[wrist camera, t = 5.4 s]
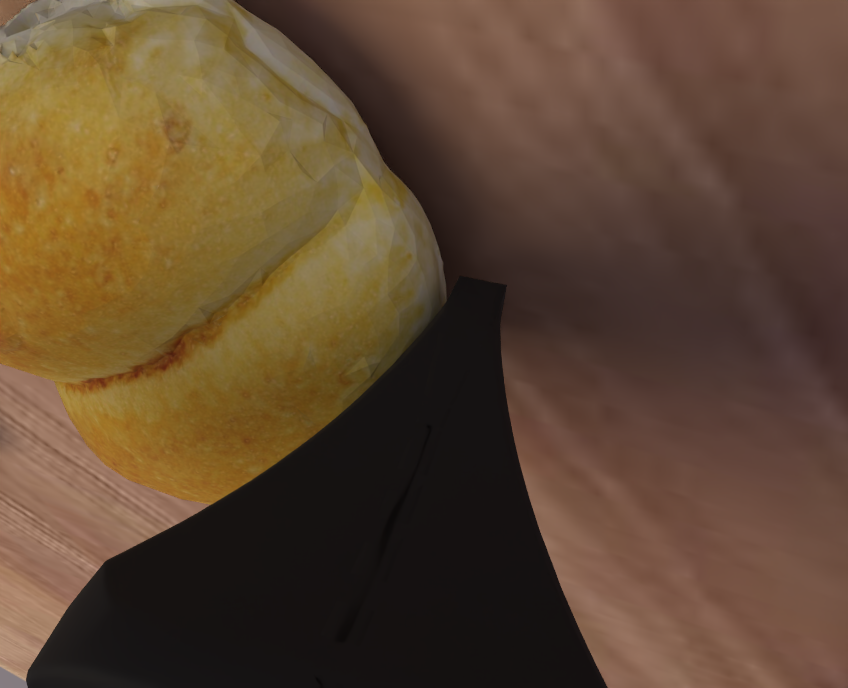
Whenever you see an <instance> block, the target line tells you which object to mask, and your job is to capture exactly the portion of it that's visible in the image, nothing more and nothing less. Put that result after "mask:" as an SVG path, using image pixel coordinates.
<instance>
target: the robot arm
mask: <svg viewBox="0 0 848 688" xmlns="http://www.w3.org/2000/svg"><path fill="white" fill-rule="evenodd" d="M506 287H507V285H503V284H498V283H493V282H488V281H483V280H478V279H474V278H469V277H464V276H459V278H458V280H457V282H456V284H455V286H454V288H453V290H452V292H451V294H450V296H449V299H448V300H447V302H446V303H445V304H444V306H443V307H442V308H441V310H440V311H439V312H438V313H437V315H436V316H435V317H434V318H433V320H432V321H431V322H430V323H429V324H428V326H427V327H426V328H425V329H424V331H423V332H422V333H421V334H420V335H419V336H418V337H417V338H416V340H415V341H414V342H413V343H412V344H411V345H410V346H409V347H408V348H407V349H406V351H405V352H404V353H403V354H402V355H401V356H400V357H399V358H398V359H397V360H396V362H395V363H394V364H393V365H392V366H391V367H390V368H389V369H388V370H387V371H386V372H385V373H384V374H383V375H381V376H380V377H379V378H378V379H377V380H376V381H375V382H374V383H373V384H372V385H371V386H370V387H369V388H368V389H367V390H366V391H365V392H364V393H363V394H362V395H361V396H360V397H359V398H358V399H356V400H355V401H354V402H353V403H352V404H351V405H350V406H349V407H347V408H346V409H345V410H344V411H343V412H342V413H341V414H339V415H338V416H337V417H336V418H335V419H334V420H332V421H331V422H330V423H329V424H327V425H326V426H325V427H324V428H322V429H321V430H320V431H319V432H318V433H316V434H315V435H314V436H313V437H311V438H310V439H309V440H307V441H306V442H305V443H303V444H302V445H300V446H299V447H298V448H296V449H295V450H294V451H292V452H291V453H290V454H288V455H287V456H285V457H284V458H283V459H281V460H280V461H279V462H277V463H276V464H274V465H273V466H272V467H270V468H269V469H267V470H266V471H264V472H263V473H261V474H260V475H258V476H257V477H255V478H254V479H252V480H251V481H249V482H248V483H246V484H244V485H243V486H241V487H239V488H238V489H236V490H234V491H233V492H231V493H230V494H228V495H226V496H225V497H223V498H221V499H220V500H218V501H216V502H215V503H213V504H212V505H210V506H208V507H207V508H205V509H203V510H202V511H200V512H198V513H197V514H195V515H193V516H191V517H190V518H188V519H186V520H184V521H182V522H181V523H179V524H177V525H175V526H173V527H171V528H169V529H167V530H165V531H163V532H161V533H159V534H157V535H156V536H154V537H152V538H150V539H148V540H146V541H144V542H142V543H140V544H138V545H136V546H134V547H132V548H130V549H128V550H126V551H124V552H123V553H121V554H119V555H116V556H114V557H112V558H110V559H109V560H107V561H105V562H104V564H103V565H102V566H101V567H100V569H99V570H98V571H97V572H96V573H95V575H94V576H93V577H92V578H91V580H90V581H89V582H88V583H87V585H86V586H85V587H84V588H83V589H82V591H81V592H80V593H79V594H78V596H77V597H76V598H75V600H74V601H73V602H72V603H71V605H70V606H69V607H68V609H67V610H66V612H65V613H64V615H63V616H62V618H61V620H60V621H59V623H58V624H57V626H56V627H55V629H54V631H53V632H52V634H51V635H50V637H49V638H48V640H47V642H46V643H45V645H44V646H43V648H42V649H41V651H40V653H39V654H38V656H37V657H36V659H35V660H34V662H33V664H32V665H31V667H30V668H29V670H28V673H27V678H26V682H27V686H28V688H607V686H606V684H605V682H604V680H603V678H602V676H601V674H600V672H599V670H598V668H597V666H596V664H595V662H594V659H593V657H592V655H591V653H590V651H589V649H588V647H587V645H586V643H585V640H584V638H583V636H582V634H581V632H580V630H579V628H578V625H577V623H576V621H575V618H574V616H573V614H572V611H571V609H570V607H569V605H568V602H567V600H566V598H565V595H564V593H563V591H562V588H561V586H560V583H559V580H558V578H557V575H556V572H555V570H554V567H553V564H552V562H551V559H550V557H549V554H548V551H547V549H546V546H545V543H544V541H543V538H542V535H541V533H540V530H539V527H538V524H537V521H536V518H535V515H534V511H533V508H532V505H531V502H530V499H529V496H528V492H527V489H526V485H525V481H524V478H523V474H522V471H521V467H520V463H519V459H518V455H517V451H516V446H515V442H514V437H513V432H512V427H511V422H510V417H509V412H508V406H507V400H506V393H505V385H504V376H503V368H502V358H501V337H500V322H501V316H502V310H503V304H504V299H505V293H506Z"/></svg>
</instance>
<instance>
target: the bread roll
mask: <svg viewBox="0 0 848 688" xmlns="http://www.w3.org/2000/svg"><path fill="white" fill-rule="evenodd" d="M446 302H447V298H446V282H445V276H444V271H443V261H442V259H441V255H440V251H439V247H438V244H437V241H436V238H435V236H434V233H433V230H432V227H431V224H430V222H429V220H428V218H427V216H426V214H425V212H424V210H423V208H422V206H421V204H420V203H419V202H418V200H417V199H416V197H415V196H414V194H413V193H412V191H411V190H410V189H409V188H408V187H407V186H406V185H405V184H404V183H403V182H402V181H401V180H400V179H399V178H398V177H397V176H396V175H395V174H394V173H393V172H392V171H391V170H390V169H389V168H388V167H387V165H386V164H385V163H384V161H383V159H382V157H381V155H380V153H379V151H378V149H377V147H376V145H375V143H374V141H373V139H372V137H371V135H370V133H369V130H368V128H367V125H366V124H365V123H364V122H363V120H362V118H361V117H360V115H359V113H358V111H357V110H356V108H355V106H354V104H353V103H352V101H351V100H350V99H349V98H348V97H347V96H346V95H345V94H344V93H343V92H342V91H341V89H340V88H339V87H338V86H337V85H336V84H335V83H334V82H333V81H332V80H331V78H330V77H329V76H328V75H326V73H325V72H324V71H323V70H322V69H321V68H320V67H319V66H318V65H317V64H316V63H315V62H314V61H313V60H312V59H311V58H310V57H308V56H307V55H306V54H305V53H304V52H303V51H301V50H300V49H299V48H298V47H297V46H296V45H295V44H294V43H293V42H292V41H291V40H289V39H288V38H287V37H286V36H285V35H284V34H282V33H281V32H280V31H279V30H277V29H276V28H274V27H273V26H271V25H269V24H268V23H266V22H264V21H263V20H261V19H259V18H258V17H256V16H255V15H253V14H252V13H250V12H248V11H247V10H246V9H244V8H243V7H242V6H240V5H239V4H238V3H236V2H235V1H234V0H37V1H35V2H32V3H30V4H29V5H28V6H27V7H26V8H24V9H21V11H20V13H19V14H17V15H15V16H14V18H13V19H12V20H9V21H7V23H6V24H5V25H4V26H0V364H3V365H7V366H10V367H13V368H16V369H19V370H22V371H25V372H28V373H31V374H34V375H37V376H40V377H43V378H46V379H50V380H53V381H54V382H55V385H56V387H57V389H58V392H59V394H60V397H61V399H62V402H63V404H64V406H65V409H66V411H67V413H68V415H69V417H70V419H71V421H72V422H73V424H74V425H75V427H76V429H77V430H78V432H79V433H80V435H81V436H82V438H83V440H84V441H85V443H86V444H87V446H88V447H89V448H90V449H91V450H92V451H93V452H94V453H95V455H96V456H97V457H98V458H99V459H100V460H101V461H102V462H103V463H104V464H105V465H106V466H108V467H109V468H111V469H112V470H114V471H115V472H117V473H118V474H120V475H122V476H123V477H125V478H126V479H128V480H131V481H133V482H136V483H139V484H141V485H144V486H147V487H150V488H152V489H155V490H158V491H160V492H163V493H166V494H169V495H171V496H174V497H177V498H180V499H183V500H189V501H195V502H201V503H206V504H211V505H212V504H213V503H215V502H216V501H218V500H220V499H221V498H223V497H225V496H226V495H228V494H230V493H231V492H233V491H234V490H236V489H238V488H239V487H241V486H243V485H244V484H246V483H248V482H249V481H251V480H252V479H254V478H255V477H257V476H258V475H260V474H261V473H263V472H264V471H266V470H267V469H269V468H270V467H272V466H273V465H274V464H276V463H277V462H279V461H280V460H281V459H283V458H284V457H285V456H287V455H288V454H290V453H291V452H292V451H294V450H295V449H296V448H298V447H299V446H300V445H302V444H303V443H305V442H306V441H307V440H309V439H310V438H311V437H313V436H314V435H315V434H316V433H318V432H319V431H320V430H321V429H322V428H324V427H325V426H326V425H327V424H329V423H330V422H331V421H332V420H334V419H335V418H336V417H337V416H338V415H339V414H341V413H342V412H343V411H344V410H345V409H346V408H347V407H349V406H350V405H351V404H352V403H353V402H354V401H355V400H356V399H358V398H359V397H360V396H361V395H362V394H363V393H364V392H365V391H366V390H367V389H368V388H369V387H370V386H371V385H372V384H373V383H374V382H375V381H376V380H377V379H378V378H379V377H380V376H381V375H383V374H384V373H385V372H386V371H387V370H388V369H389V368H390V367H391V366H392V365H393V364H394V363H395V362H396V360H397V359H398V358H399V357H400V356H401V355H402V354H403V353H404V352H405V351H406V349H407V348H408V347H409V346H410V345H411V344H412V343H413V342H414V341H415V340H416V338H417V337H418V336H419V335H420V334H421V333H422V332H423V331H424V329H425V328H426V327H427V326H428V324H429V323H430V322H431V321H432V320H433V318H434V317H435V316H436V315H437V313H438V312H439V311H440V310H441V308H442V307H443V306H444V304H445V303H446Z"/></svg>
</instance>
